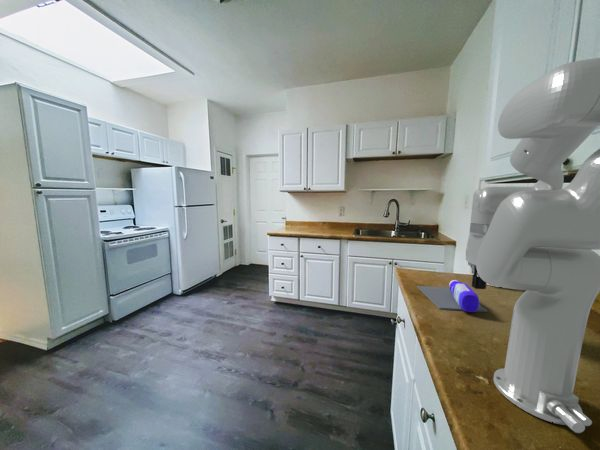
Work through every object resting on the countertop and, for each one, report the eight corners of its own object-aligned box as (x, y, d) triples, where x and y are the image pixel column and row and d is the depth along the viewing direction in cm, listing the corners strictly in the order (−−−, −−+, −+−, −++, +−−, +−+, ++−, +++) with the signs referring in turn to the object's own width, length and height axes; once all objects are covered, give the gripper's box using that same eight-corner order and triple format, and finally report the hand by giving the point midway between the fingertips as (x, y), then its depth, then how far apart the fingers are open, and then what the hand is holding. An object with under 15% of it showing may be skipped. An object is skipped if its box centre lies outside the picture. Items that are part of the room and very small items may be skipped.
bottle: (460, 313, 80) (446, 292, 96) (480, 314, 78) (462, 293, 95) (460, 292, 79) (446, 275, 95) (480, 294, 77) (463, 276, 94)
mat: (487, 312, 81) (487, 310, 81) (439, 309, 83) (439, 307, 83) (455, 289, 101) (455, 287, 101) (416, 287, 103) (417, 285, 103)
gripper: (518, 233, 63) (510, 298, 65) (481, 227, 78) (475, 280, 80) (489, 232, 64) (482, 297, 66) (457, 226, 79) (452, 279, 81)
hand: (478, 287), depth 73 cm, fingers closed
